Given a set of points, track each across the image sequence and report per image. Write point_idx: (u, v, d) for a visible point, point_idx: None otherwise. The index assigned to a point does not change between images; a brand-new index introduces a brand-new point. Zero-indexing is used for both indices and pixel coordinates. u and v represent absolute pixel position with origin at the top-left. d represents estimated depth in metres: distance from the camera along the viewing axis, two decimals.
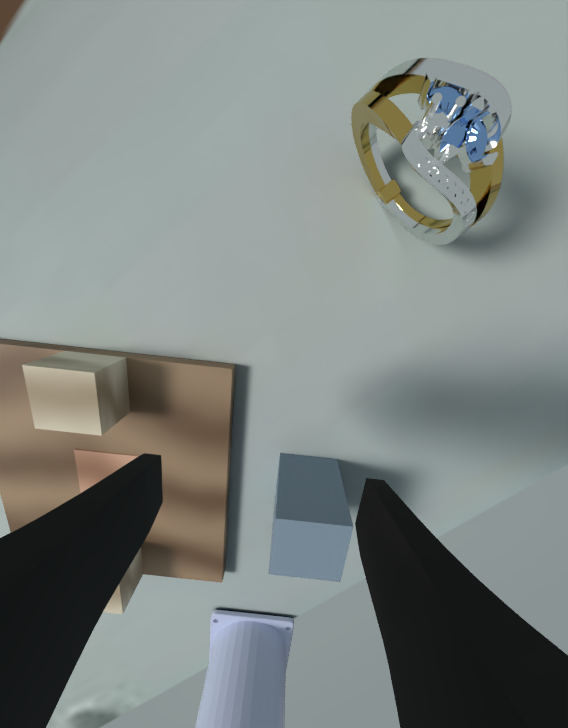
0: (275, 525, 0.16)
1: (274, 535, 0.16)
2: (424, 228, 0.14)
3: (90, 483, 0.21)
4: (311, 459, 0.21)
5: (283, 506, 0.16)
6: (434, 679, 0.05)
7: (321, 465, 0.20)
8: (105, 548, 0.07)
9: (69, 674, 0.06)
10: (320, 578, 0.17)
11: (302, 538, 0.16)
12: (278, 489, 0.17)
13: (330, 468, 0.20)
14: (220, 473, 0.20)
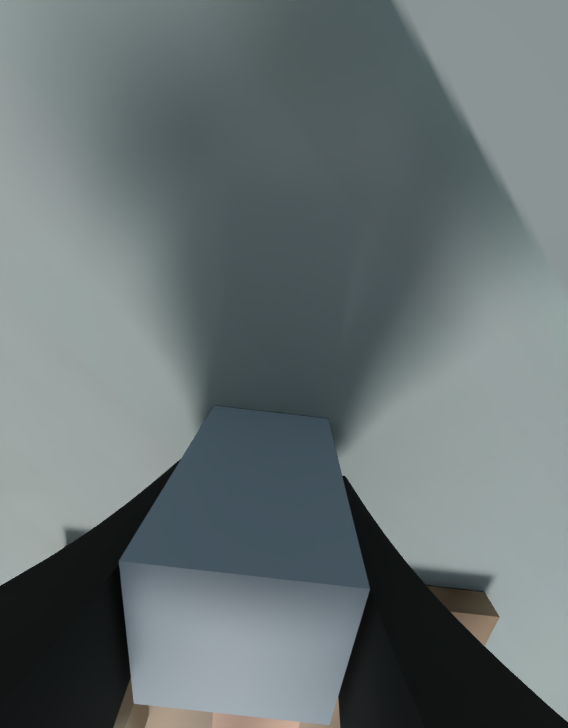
0: (158, 703, 0.06)
1: (189, 709, 0.06)
2: None
3: (266, 725, 0.15)
4: None
5: None
6: (363, 671, 0.05)
7: None
8: None
9: (128, 681, 0.06)
10: (351, 633, 0.05)
11: (191, 664, 0.06)
12: None
13: None
14: None
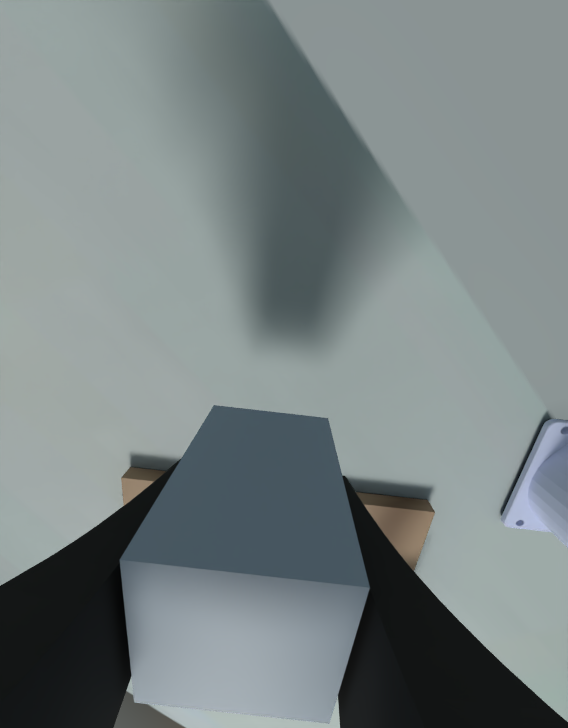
0: (159, 702, 0.06)
1: (189, 707, 0.06)
2: None
3: None
4: None
5: None
6: (363, 671, 0.05)
7: None
8: None
9: (128, 681, 0.06)
10: (350, 631, 0.05)
11: (191, 662, 0.06)
12: None
13: None
14: None
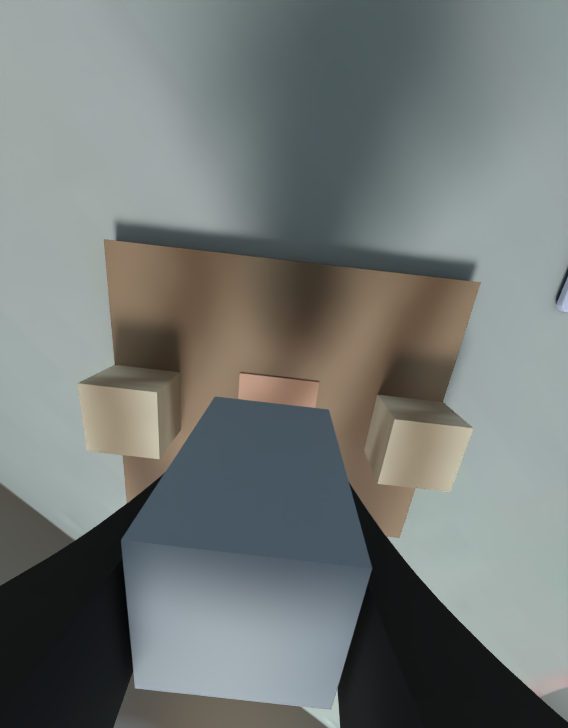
0: (160, 687, 0.06)
1: (190, 693, 0.06)
2: None
3: None
4: None
5: None
6: (363, 671, 0.05)
7: None
8: None
9: (128, 681, 0.06)
10: (352, 614, 0.05)
11: (192, 646, 0.06)
12: None
13: None
14: (261, 267, 0.15)
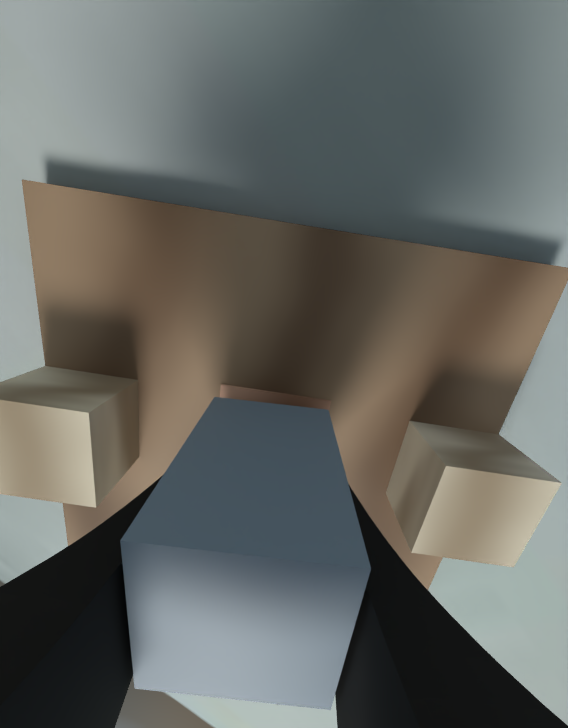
0: (159, 687, 0.06)
1: (190, 693, 0.06)
2: None
3: None
4: None
5: None
6: (360, 671, 0.05)
7: None
8: None
9: (129, 681, 0.06)
10: (352, 614, 0.05)
11: (191, 646, 0.06)
12: None
13: None
14: (256, 233, 0.10)
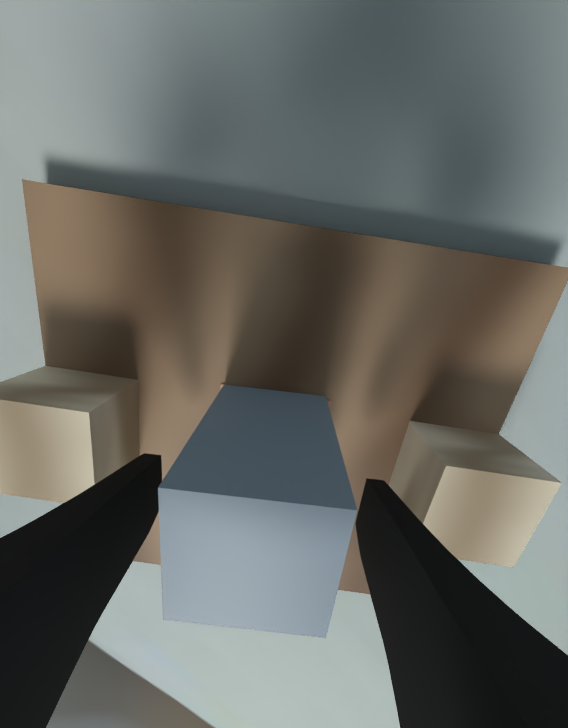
0: (183, 619, 0.07)
1: (209, 624, 0.07)
2: None
3: None
4: None
5: None
6: (434, 679, 0.05)
7: None
8: (105, 548, 0.07)
9: (69, 674, 0.06)
10: (342, 550, 0.06)
11: (212, 581, 0.07)
12: None
13: None
14: (256, 233, 0.10)
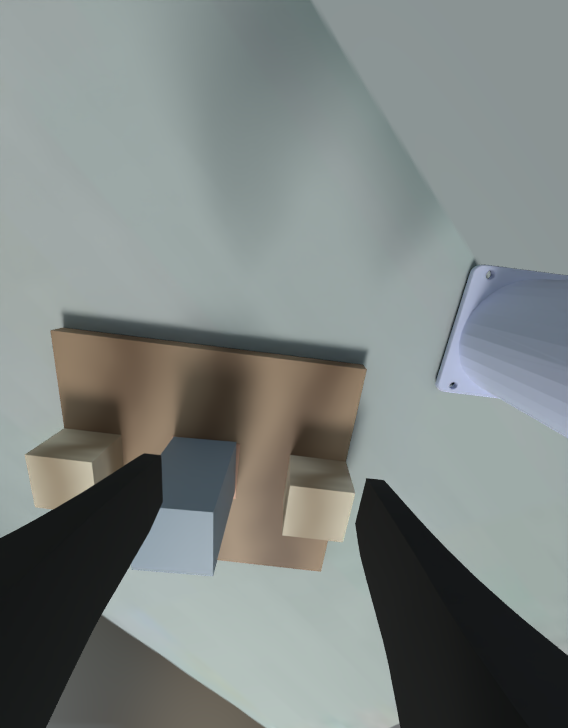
0: (141, 569, 0.15)
1: (154, 570, 0.15)
2: None
3: None
4: None
5: None
6: (434, 679, 0.05)
7: None
8: (105, 548, 0.07)
9: (69, 674, 0.06)
10: (210, 531, 0.14)
11: (153, 548, 0.14)
12: None
13: None
14: (184, 354, 0.17)
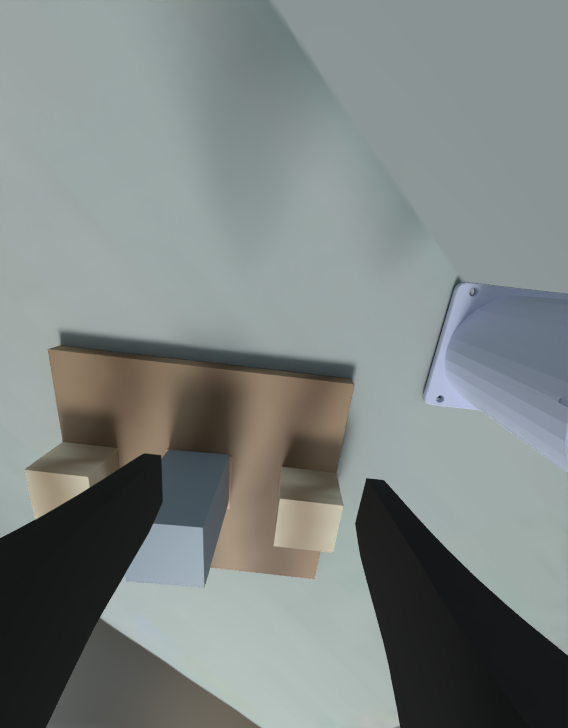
0: (136, 580, 0.15)
1: (148, 582, 0.15)
2: None
3: None
4: None
5: None
6: (434, 679, 0.05)
7: None
8: (105, 548, 0.07)
9: (69, 674, 0.06)
10: (201, 545, 0.14)
11: (146, 561, 0.15)
12: None
13: None
14: (176, 371, 0.18)
